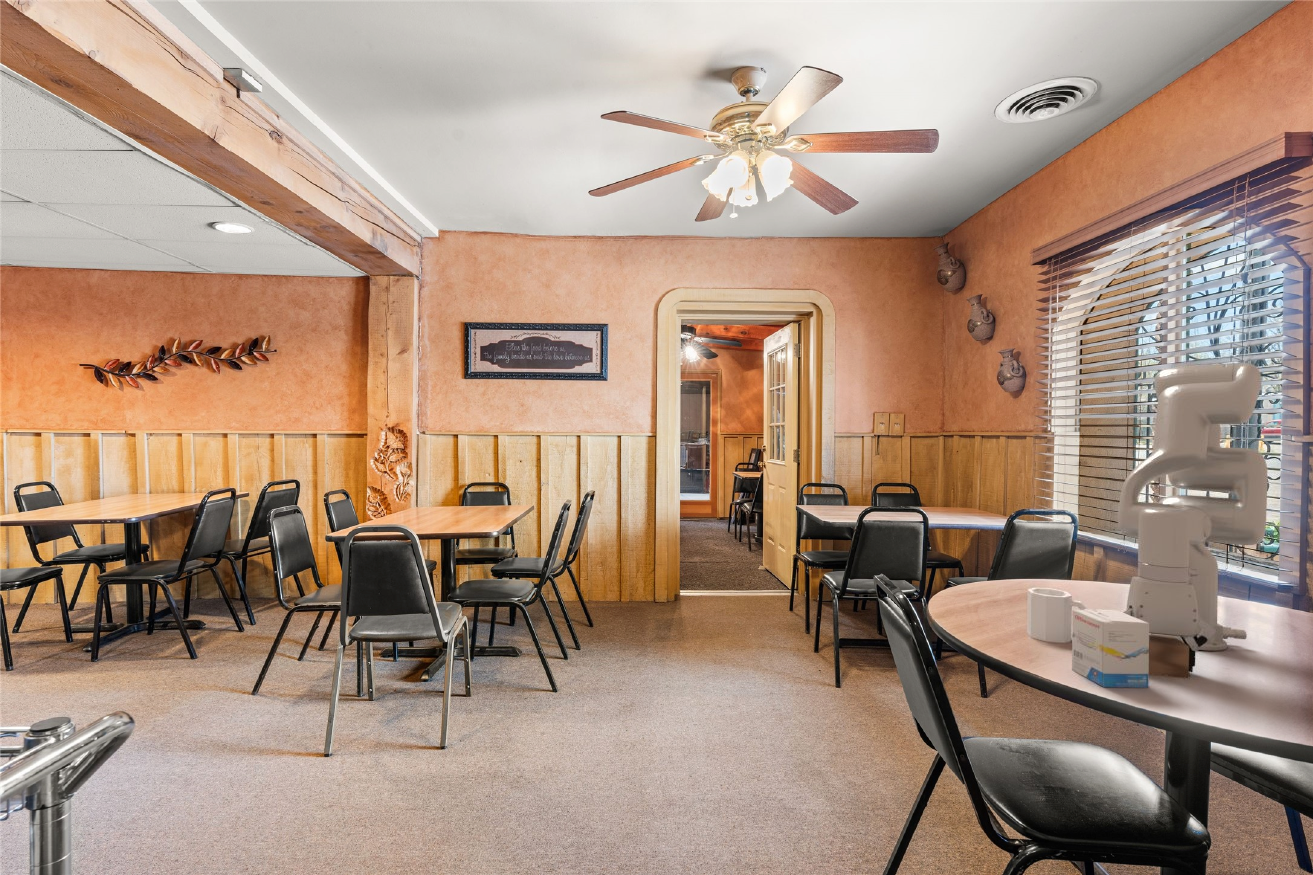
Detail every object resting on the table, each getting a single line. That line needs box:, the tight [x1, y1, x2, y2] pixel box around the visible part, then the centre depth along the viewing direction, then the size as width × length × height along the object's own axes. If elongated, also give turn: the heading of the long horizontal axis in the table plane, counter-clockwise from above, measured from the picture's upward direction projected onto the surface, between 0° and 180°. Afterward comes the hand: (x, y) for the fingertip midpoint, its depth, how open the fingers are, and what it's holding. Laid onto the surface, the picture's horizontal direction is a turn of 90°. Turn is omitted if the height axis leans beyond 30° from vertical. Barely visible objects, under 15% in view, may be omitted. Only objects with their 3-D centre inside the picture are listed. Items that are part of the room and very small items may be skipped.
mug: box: [1026, 587, 1088, 644], centre depth 137 cm, size 12×9×10 cm
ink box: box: [1071, 608, 1150, 689], centre depth 114 cm, size 9×8×12 cm
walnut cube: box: [1149, 633, 1190, 679], centre depth 118 cm, size 6×6×6 cm
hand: (1161, 666), depth 118 cm, fingers open, 7 cm apart
